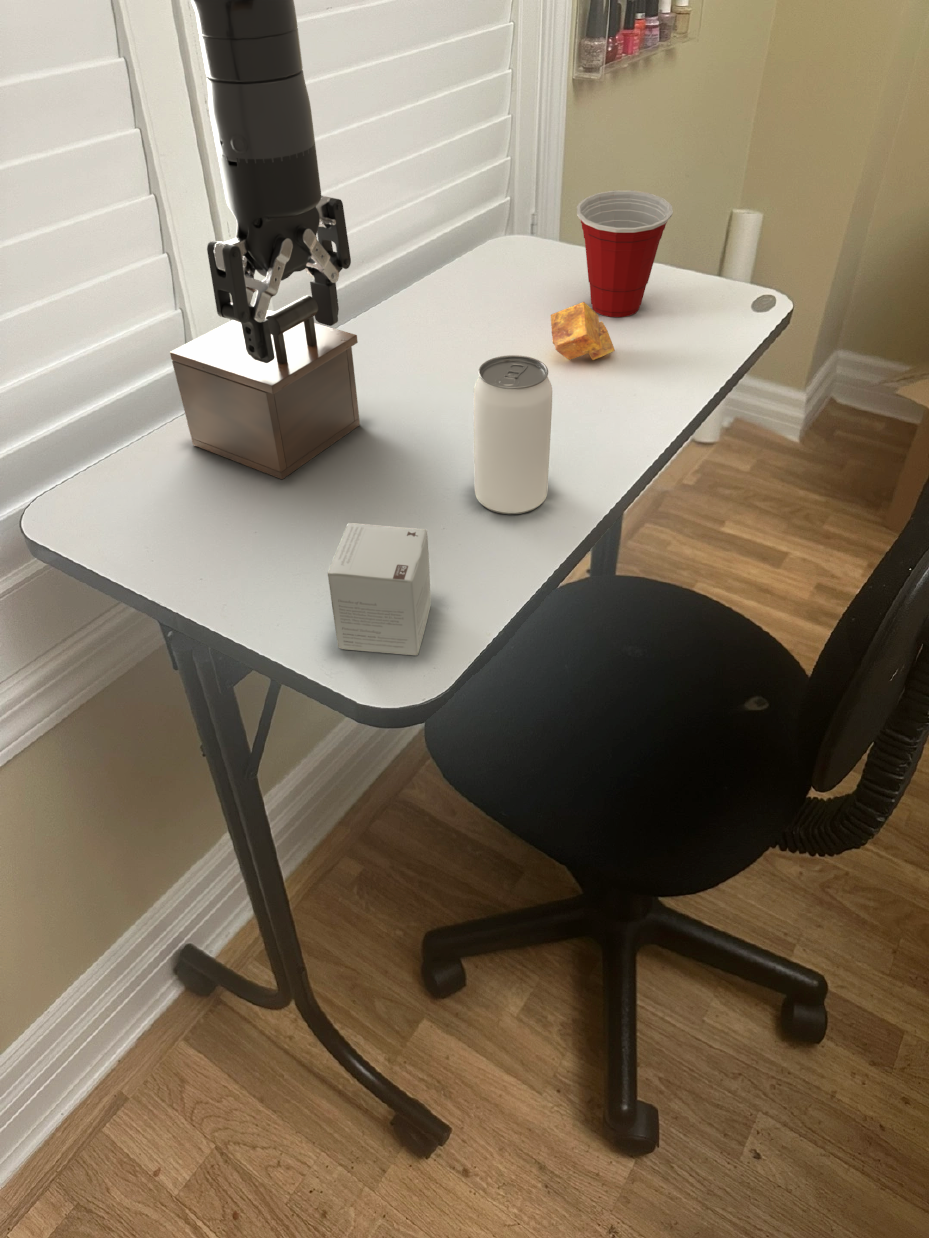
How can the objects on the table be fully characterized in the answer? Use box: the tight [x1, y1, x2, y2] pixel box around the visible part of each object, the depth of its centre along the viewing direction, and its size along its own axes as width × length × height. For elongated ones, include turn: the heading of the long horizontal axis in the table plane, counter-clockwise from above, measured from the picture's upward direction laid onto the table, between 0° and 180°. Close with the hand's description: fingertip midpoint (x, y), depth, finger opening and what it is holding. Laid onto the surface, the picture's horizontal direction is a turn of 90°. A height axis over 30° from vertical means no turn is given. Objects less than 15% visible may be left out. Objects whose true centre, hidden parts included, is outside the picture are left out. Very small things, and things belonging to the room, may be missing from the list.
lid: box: [169, 295, 359, 394], centre depth 81 cm, size 12×12×5 cm
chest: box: [171, 346, 361, 480], centre depth 86 cm, size 12×12×9 cm
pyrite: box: [550, 301, 616, 361], centre depth 99 cm, size 5×7×4 cm
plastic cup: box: [576, 189, 674, 318], centre depth 106 cm, size 11×11×12 cm
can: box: [473, 354, 553, 515], centre depth 77 cm, size 6×6×12 cm
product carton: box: [327, 522, 432, 656], centre depth 65 cm, size 6×6×7 cm
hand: (295, 341), depth 80 cm, fingers open, 8 cm apart
